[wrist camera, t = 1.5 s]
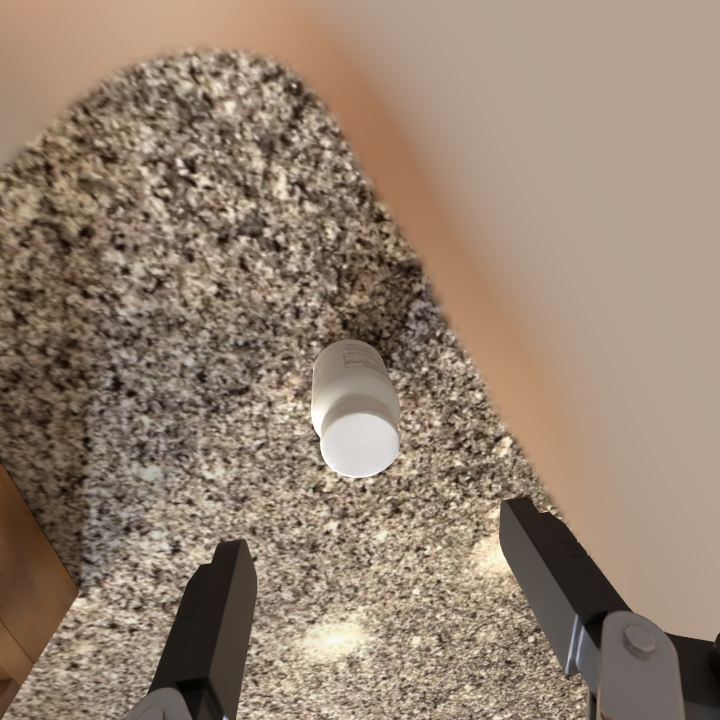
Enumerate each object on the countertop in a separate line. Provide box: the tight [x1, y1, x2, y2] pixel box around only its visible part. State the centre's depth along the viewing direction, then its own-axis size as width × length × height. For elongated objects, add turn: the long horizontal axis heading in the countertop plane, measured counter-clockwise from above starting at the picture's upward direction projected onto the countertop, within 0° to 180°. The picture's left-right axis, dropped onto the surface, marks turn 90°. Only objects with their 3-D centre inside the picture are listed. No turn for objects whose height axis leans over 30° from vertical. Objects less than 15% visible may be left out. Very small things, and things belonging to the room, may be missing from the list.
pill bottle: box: [311, 339, 400, 477], centre depth 19 cm, size 4×4×8 cm
